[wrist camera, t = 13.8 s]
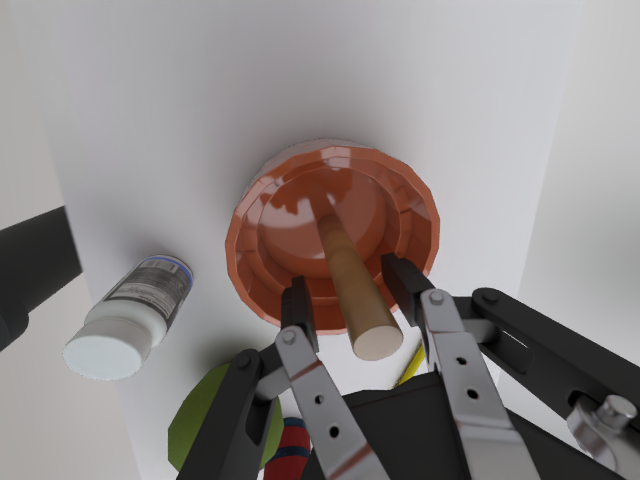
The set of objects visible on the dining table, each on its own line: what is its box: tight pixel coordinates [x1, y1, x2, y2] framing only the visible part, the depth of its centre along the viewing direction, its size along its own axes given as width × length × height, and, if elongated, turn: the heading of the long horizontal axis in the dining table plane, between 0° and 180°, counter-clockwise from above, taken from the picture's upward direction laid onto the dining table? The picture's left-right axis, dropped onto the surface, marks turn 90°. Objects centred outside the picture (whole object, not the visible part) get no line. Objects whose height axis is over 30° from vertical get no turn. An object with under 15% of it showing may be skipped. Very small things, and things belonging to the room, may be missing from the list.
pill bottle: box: [63, 255, 193, 381], centre depth 17 cm, size 5×5×8 cm
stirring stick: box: [317, 215, 403, 361], centre depth 15 cm, size 2×2×12 cm
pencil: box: [398, 344, 425, 385], centre depth 32 cm, size 16×1×1 cm, turn 168°
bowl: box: [225, 138, 440, 335], centre depth 18 cm, size 14×14×6 cm
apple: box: [168, 363, 284, 472], centre depth 24 cm, size 11×10×10 cm
